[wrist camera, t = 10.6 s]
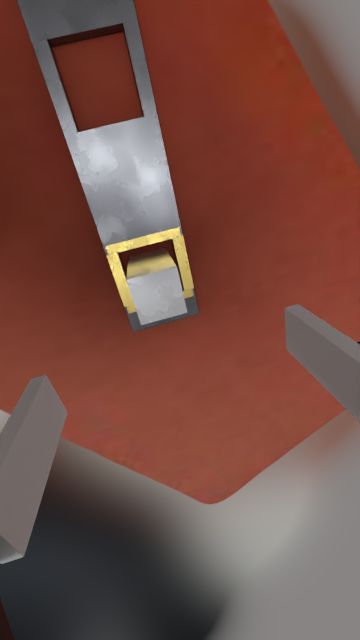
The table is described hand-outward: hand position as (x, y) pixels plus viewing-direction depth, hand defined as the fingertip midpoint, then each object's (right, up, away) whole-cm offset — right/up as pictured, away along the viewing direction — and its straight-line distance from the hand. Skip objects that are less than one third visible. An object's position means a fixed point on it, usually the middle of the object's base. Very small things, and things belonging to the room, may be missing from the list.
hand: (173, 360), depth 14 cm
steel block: (-3, +8, +18) cm, 20 cm away
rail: (-5, +16, +14) cm, 22 cm away
